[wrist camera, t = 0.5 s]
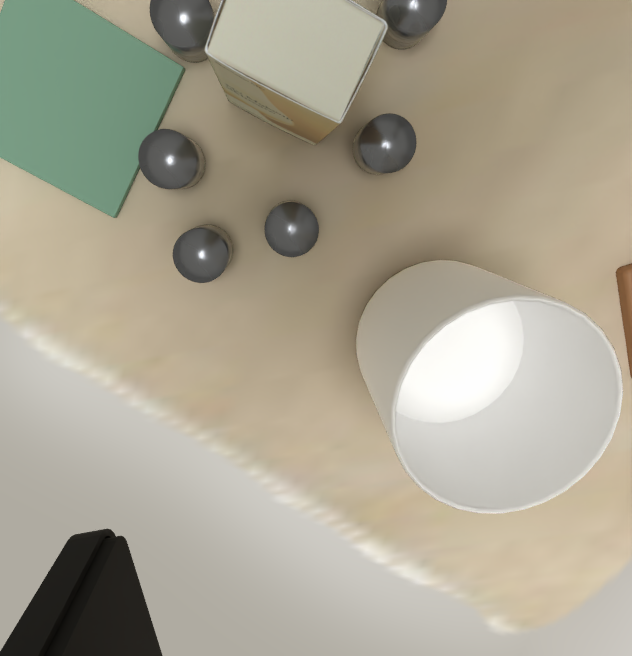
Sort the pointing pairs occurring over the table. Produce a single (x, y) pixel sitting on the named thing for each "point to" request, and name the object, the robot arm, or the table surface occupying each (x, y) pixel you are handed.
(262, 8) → the skincare box
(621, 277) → the brown wooden carved piece
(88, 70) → the coaster
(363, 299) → the table surface
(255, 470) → the table surface
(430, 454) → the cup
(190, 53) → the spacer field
